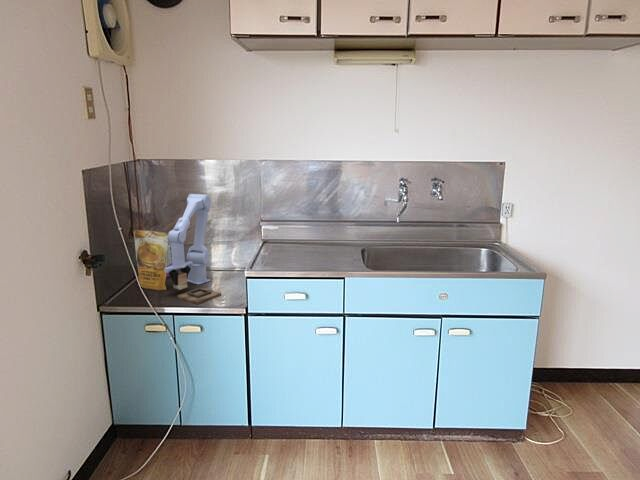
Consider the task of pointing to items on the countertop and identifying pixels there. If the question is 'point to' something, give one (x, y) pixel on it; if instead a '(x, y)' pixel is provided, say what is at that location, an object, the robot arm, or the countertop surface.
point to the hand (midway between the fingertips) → (180, 283)
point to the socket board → (199, 295)
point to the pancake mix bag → (151, 258)
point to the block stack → (181, 281)
